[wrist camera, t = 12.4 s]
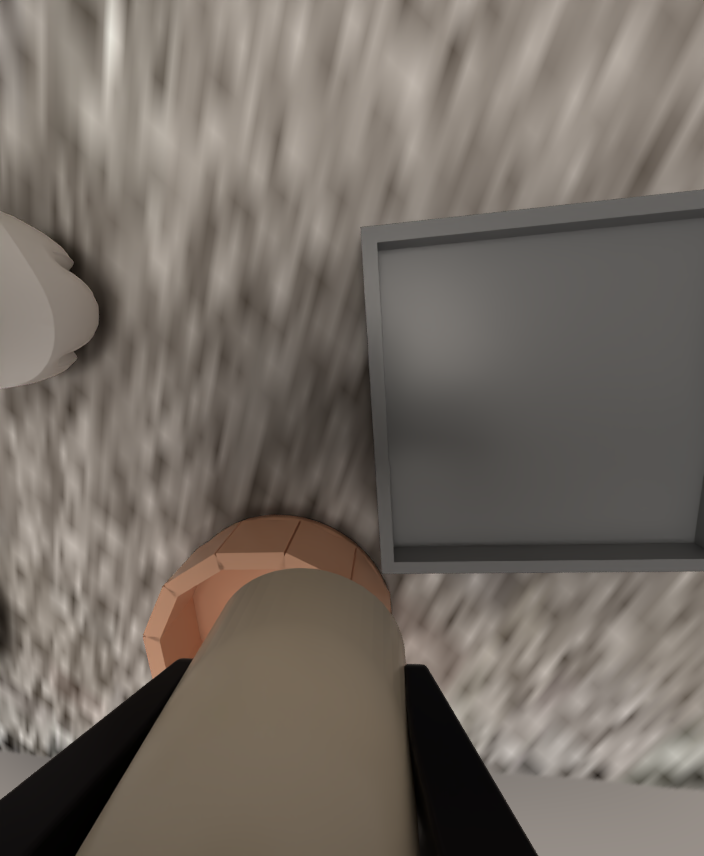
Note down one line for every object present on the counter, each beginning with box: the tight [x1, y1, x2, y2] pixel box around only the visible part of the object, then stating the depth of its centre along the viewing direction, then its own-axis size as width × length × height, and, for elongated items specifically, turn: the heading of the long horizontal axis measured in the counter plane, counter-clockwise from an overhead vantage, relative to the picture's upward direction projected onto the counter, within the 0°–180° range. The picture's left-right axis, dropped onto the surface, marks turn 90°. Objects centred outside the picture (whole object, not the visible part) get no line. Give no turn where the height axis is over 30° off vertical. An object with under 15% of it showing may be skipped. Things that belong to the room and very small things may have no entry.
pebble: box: [75, 568, 420, 856], centre depth 5 cm, size 4×4×4 cm
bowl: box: [143, 515, 392, 678], centre depth 19 cm, size 12×12×4 cm
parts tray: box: [361, 189, 704, 574], centre depth 16 cm, size 15×15×2 cm
